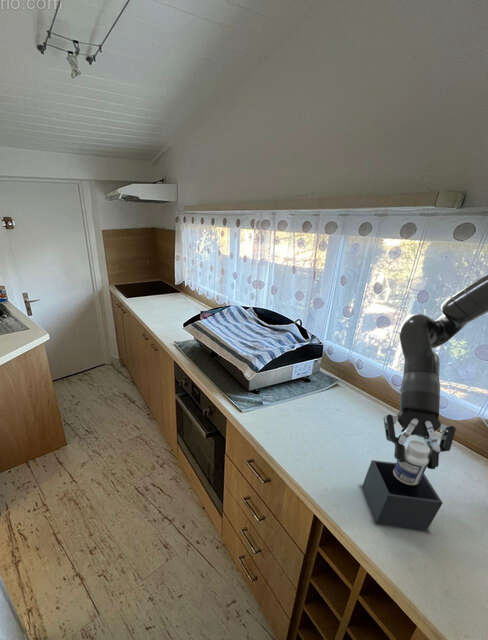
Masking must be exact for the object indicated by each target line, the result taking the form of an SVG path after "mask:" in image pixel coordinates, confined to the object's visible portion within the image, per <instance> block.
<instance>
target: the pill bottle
mask: <svg viewBox="0 0 488 640" xmlns="http://www.w3.org/2000/svg"><path fill="white" fill-rule="evenodd" d="M429 452H430V448H429V447H428V446H427V443H425V442H422V441H419V440H410V441H409V442H408V444H407V446H405V452H404V462H397V461H396V462H395V463H396V465H395V468H394V470H393V473H394V476H395V477H396V478H397V479H398V480H399V481H401V482H403V483H405V484H408V485H416V484H418V483H419V482H420V480H421V478H422V476H423V474H425V472H426V469H428V468H427V466H428V464H429V457H428V454H429Z"/></svg>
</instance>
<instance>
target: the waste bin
mask: <svg viewBox="0 0 488 640" xmlns="http://www.w3.org/2000/svg"><path fill="white" fill-rule="evenodd" d="M396 463H397V462H391V461H381V460H373V459H372V460H371V461H370V464H369V466H368V468H367V471H366V475H365V477H364V480H363V483H362V485H361V488H362V490H363V494H364V496H365V498H366V501H367V503H368V507H369V510H370V511H371V514H372V516H373V520H374V522H375V524H377V525H385V526H390V527H398V528H405V529H411V530H417V531H423V532H424V531H425V532H427V531H428V530H429V528H430V526H431V525H432V523H433V521H434V519H435V518H436V516H437V514H438V512H439V510H440V508H442V505H443V501H442V499H441V498H440V496H439V495H438V493H437V491H436V490H435V488H434V487H433V484H431V482H430V480H429V479H428V477H427V475H426V474H425V473H424V474H423V476H422V478H421V480H420V482H419V483H418V484H416V485H408V484H405V483H403V482H401V481H399V480H398V479H397V478H396V477H395V476H394V473H393V470H394V468H395V465H396Z"/></svg>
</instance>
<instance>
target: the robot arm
mask: <svg viewBox="0 0 488 640" xmlns="http://www.w3.org/2000/svg"><path fill="white" fill-rule="evenodd" d="M440 311H441V313H442V315H440V316H439V317H438V318H437V319H433V318H432V317H429V316H428V315H426V314H421V313H415V314H412V315H410V316H408V317H407V318H406V319H404V321H403V322H402V324H401V326H400V329H399V341H400V347H401V352H402V355H403V359H404V360H403V361H404V362H403V372H402V373H403V374H402V379H401V384H400V390H399V391H400V396H399V397H400V398H399V412H398V414H397V415H392V414H387V415H384V417H383V423H384V431H385V438H386V440H387V441H389V442H391V443H392V444H394V455H393V456H394V459H395V460H396V463H397V462H404V452H405V447H406V446H405V443H406V442H407V440H408V439H409V437H410V436H417V437H419V438H423V441H424V443H425V444H426V445H427V446H428V447H429V448H430V452H429V454H428V457H429V464H428V466H427V468H426V469H429V470H435V469H436V468H438V467H439V463H440V453H443V452H450V451H451V449H452V446H453V445H452V444H453V441H454V437H455V434H456V430H457V429H456V426H454V425H447V424H443V423H442V422H441V420H440V406H441V405H440V403H441V402H440V401H441V400H440V399H441V381H440V370H441V369H440V368H441V362H440V361H441V360H440V357H439V355H438V354H437V353H436V352H435V351H434V350H433V349H435V348H439V347H441V346H443V345H444V344H446V343H447V342H449V341H451V339H452V338H453V337H454V336H456V335H457V334H458V333H459V332H460V331H461V330H463V328H464V327H466V325H468V324H469V323H471V322H473V321H474V320H476V319H478V318H480V317H482V316H484V315H485V314H487V313H488V274H487V275H485V276H483V277H481V278H479V279H477V280H475V281H474V282H472V283H471V284H469V285H467V286H466V287H464V288H463V289H461V290H459V291H458V292H456V293H455V294H453V295H452V296H450V297H449V298H447V299H446V300H444V301H443V303H441V304H440ZM397 422H398V423H399V425H400V426H401V430H400V431H399V433H398V435H397V436H396V429H395V424H397ZM438 429H439V430H440V434H441V438H440V441H439V442H438V437H437V435H436V433H435V432H436V431H438Z"/></svg>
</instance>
